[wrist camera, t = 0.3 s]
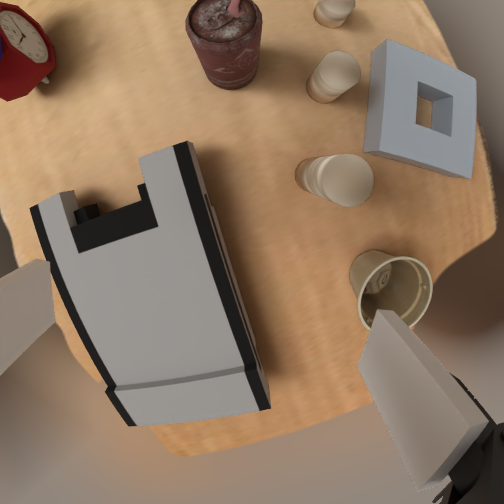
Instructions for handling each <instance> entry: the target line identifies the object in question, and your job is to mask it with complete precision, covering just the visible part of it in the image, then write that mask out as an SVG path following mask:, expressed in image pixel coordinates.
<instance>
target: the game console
mask: <svg viewBox="0 0 504 504" xmlns="http://www.w3.org/2000/svg"><path fill="white" fill-rule="evenodd" d="M138 160H139V163H140V167H141V170H142V174H143V177H144V181H145V183H143V184H141V185H138V186H137V187H138V190H139V193H140V197H141V200H142V201H139V202H136V203H133V204H130V205H128V206H125V207H122V208H120V209H117V210H114V211H112V212H109V213H106V214H104V215H101V214H100V211H99V208H98V204H97V203H96V204H92V205H89V206H85V207H83V208H80V209H79V206H78V203H77V199H76V196H75V193H74V190H72V191H67V192H61V193H58V194H56V195H54V196H52V197H50V198H48V199H46V200H44V201H42V202H40V203H39V204H37V205H35V206H33V207H31V208H29V209H30V212H31V216H32V219H33V222H34V226H35V229H36V232H37V235H38V238H39V241H40V244H41V247H42V250H43V253H44V255H45V258H46V261H49V262H50V271H51V274H52V276H53V279H54V281H55V284H56V286H57V289H58V291H59V293H60V296H61V298H62V300H63V303H64V305H65V307H66V309H67V311H68V314H69V316H70V318H71V320H72V322H73V324H74V326H75V328H76V330H77V332H78V334H79V336H80V338H81V340H82V342H83V344H84V346H85V348H86V349H87V351H88V353H89V355H90V357H91V359H92V360H93V362H94V364H95V366H96V367H97V369H98V371H99V373H100V374H101V376H102V378H103V379H104V381H105V383H106V384H107V386H108V387H107V389H106V391H105V393H106V394H107V396H108V398H109V399H110V401H111V402H112V404H113V405H114V406H115V408H116V409H117V411H118V412H119V414H120V415H121V417H122V418H123V420H124V421H125V422H126V424H127V425H128V426H146V425H161V424H173V423H183V422H192V421H201V420H208V419H215V418H222V417H228V416H234V415H240V414H246V413H251V412H256V411H261V410H266V409H271V403H270V392H269V385H268V382H267V379H266V376H265V373H264V370H263V367H262V364H261V361H260V358H259V355H258V352H257V349H256V340H255V337H254V334H253V331H252V328H251V325H250V322H249V319H248V316H247V312H246V309H245V306H244V303H243V300H242V297H241V294H240V291H239V287H238V284H237V281H236V278H235V275H234V271H233V268H232V265H231V262H230V259H229V255H228V252H227V249H226V246H225V242H224V239H223V236H222V232H221V229H220V226H219V223H218V219H217V216H216V213H215V209H214V206H211V204H210V200H209V197H208V194H207V190H206V187H205V183H204V180H203V177H202V173H201V170H200V166H199V163H198V159H197V156H196V152H195V149H194V145H193V143H191V142H189V141H185V142H182V143H179V144H176V145H173V146H170V147H167V148H165V149H162V150H159V151H156V152H153V153H151V154H148V155H145V156H143V157H140V158H138Z"/></svg>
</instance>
